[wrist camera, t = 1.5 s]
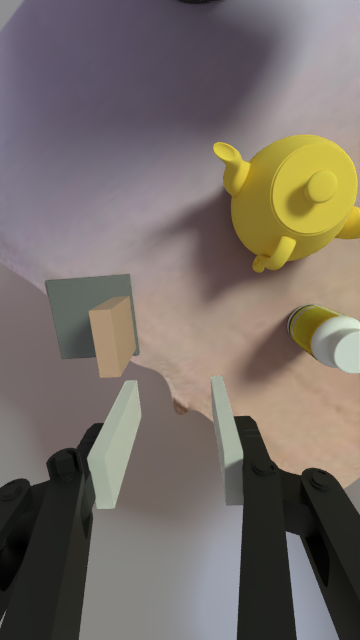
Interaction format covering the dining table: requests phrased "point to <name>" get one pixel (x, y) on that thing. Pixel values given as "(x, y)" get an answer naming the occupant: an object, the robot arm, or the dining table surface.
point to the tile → (113, 335)
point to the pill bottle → (327, 336)
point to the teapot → (291, 198)
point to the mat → (83, 310)
